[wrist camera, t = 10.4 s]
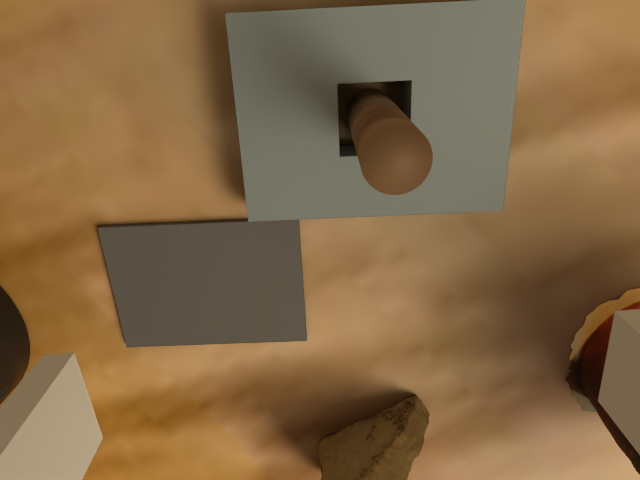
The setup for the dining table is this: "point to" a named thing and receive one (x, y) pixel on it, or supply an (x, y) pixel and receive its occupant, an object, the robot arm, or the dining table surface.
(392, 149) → the peg
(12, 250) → the dining table surface
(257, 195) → the block
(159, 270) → the mat
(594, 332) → the vessel
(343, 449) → the rock
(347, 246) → the dining table surface
